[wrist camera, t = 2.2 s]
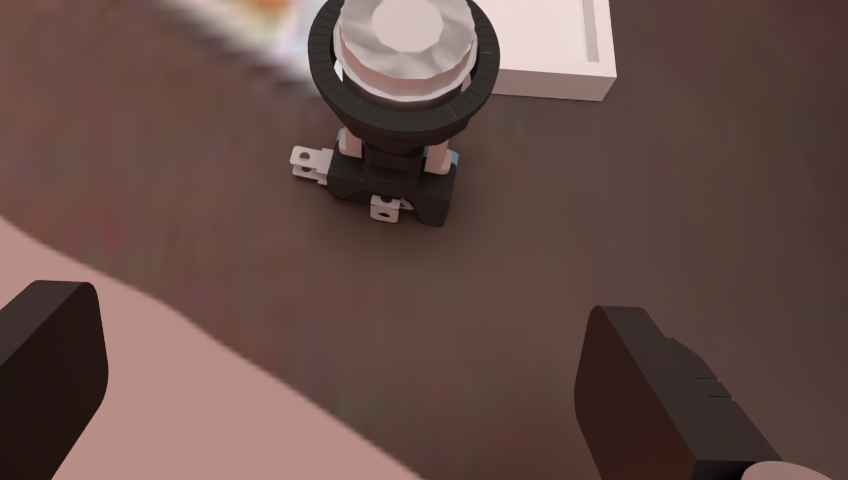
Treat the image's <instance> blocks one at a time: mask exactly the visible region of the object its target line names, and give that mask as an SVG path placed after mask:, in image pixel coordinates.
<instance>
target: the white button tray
mask: <svg viewBox="0 0 848 480" xmlns="http://www.w3.org/2000/svg"><path fill="white" fill-rule="evenodd" d="M473 1H474V2H475V3H476V4H477V5H478V6H479V7H480V8H481V9H482V10H483V12H484V13H485V14H486V16H487V17H488V19H489V20H490V22H491V23H492V26H493V28H494V30H495V32H496V35H497V38H498V42H499V47H500V67H499V72H498V76H497V79H496V82H495V85H494V88H493V90H492V92H491V94H504V95H518V96H532V97H546V98H561V99H575V100H589V101H602V100H603V99H604V97H605V95H606V94H607V92H608V90H609V89H610V87H611V86H612V84H613V82H614V81H615V79H616V78H617V75H616V66H615V57H614V48H613V39H612V30H611V21H610V12H609V3H608V0H473ZM470 83H471V78H470V73H468V75H467V76H466V77H465V79H464V81H463V85H462V89H461V91H462V92H464V91H465V90H466V88H467V87H468V86H469V85H470Z"/></svg>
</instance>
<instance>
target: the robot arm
mask: <svg viewBox="0 0 848 480" xmlns="http://www.w3.org/2000/svg"><path fill="white" fill-rule="evenodd" d="M107 383H108V361H107V354H106V348H105V341H104V334H103V328H102V321H101V315H100V308H99V302H98V296H97V292H96V290H95V288H94V286H93V285H92V284H90V283H88V282H72V281H47V280H37V281H34V282H32V283H31V284H30V285H28V286H27V287H26V288H25V289H24V290H23V291H22V292H21V293H20V294H18V295H17V296H16V297H15V298H14V299H13V300H12V301H10V302H9V303H8V304H7V305H6V306H5V307H3V308H2V309H1V310H0V480H51V479H52V478H53V476H54V474H55V473H56V471H57V470H58V468H59V467H60V465H61V464H62V462H63V461H64V459H65V458H66V456H67V455H68V453H69V452H70V450H71V449H72V447H73V446H74V444H75V443H76V441H77V440H78V438H79V437H80V435H81V434H82V432H83V431H84V429H85V428H86V426H87V425H88V423H89V422H90V420H91V419H92V417H93V416H94V414H95V413H96V411H97V410H98V408H99V406H100V405H101V403H102V401H103V398H104V395H105V392H106V388H107ZM731 397H732V396H731V395H730V394H729V392H728V391H727V390H726V389H725V387H724V386H723V385H722V384H721V383H718V382H717V377H716V376H715V375H714V374H713V372H712V371H711V370H710V368H709V367H708V366H707V365H706V363H705V362H704V361H703V360H702V358H701V357H700V356H698V355H697V354H695V353H694V352H693V351H691V350H690V349H688V348H687V347H685V346H684V345H683V344H681V343H680V342H678V341H677V340H675V339H674V338H665V337H664V335H663V334H662V333H661V331H660V330H659V328H658V327H657V326H656V324H655V323H654V322H653V320H652V319H651V318H650V316H649V315H648V314H647V312H646V311H645V310H644V309H643V308H640V307H621V306H595V307H594V308H593V309H592V311H591V313H590V316H589V320H588V324H587V329H586V334H585V338H584V343H583V348H582V353H581V357H580V362H579V367H578V372H577V376H576V381H575V388H574V404H575V412H576V416H577V420H578V423H579V425H580V428H581V430H582V432H583V435H584V437H585V440H586V442H587V445H588V447H589V449H590V452H591V454H592V457H593V459H594V462H595V464H596V466H597V469H598V471H599V474H600V476H601V479H602V480H832V479H830V478H828V477H826V476H824V475H822V474H820V473H818V472H816V471H814V470H811V469H808V468H805V467H803V466H799V465H796V464H792V463H786V462H783V460H782V459H781V458H780V457H779V455H778V454H777V453H776V452H775V450H774V449H773V448H772V447H771V445H770V444H769V443H768V442H767V440H766V439H765V438H764V436H763V435H762V434H761V433H760V431H759V430H758V429H757V428H756V426H755V425H754V424H753V423H752V421H751V420H750V419H749V418H748V416H747V415H746V414H745V413H744V411H743V410H742V409H741V408H740V406H739V405H738V404H737V402H736V401H732V399H731Z"/></svg>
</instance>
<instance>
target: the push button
mask: <svg viewBox="0 0 848 480" xmlns="http://www.w3.org/2000/svg"><path fill="white" fill-rule="evenodd" d="M308 58H309V65H310V70H311V74H312V78H313V80H314V82H315V85H316V87H317V89H318V90H319V92H320V94H321V95H322V97H323V99H324V100H325V102H326V103H327V104H328V105H329V107H330V108H331V109H332V110H333V112H334V113H335V114H336V115H337V116H338V118H339V119H340V120H341V121H342V123H343V124H344V125H345V128H341V129H340V130H339V133H338V137H337V140H336V144H335V148H334V150H331V149H326V148H323V149H322V151H319V150H314V149H309V148H304V147H299V146H296V147H294V149H293V152H292V156H291V159H290V162H291V164H293V165H294V168H293V174H294V175H296V176H301V177H306V178H311V179H316V180H318V184H323V185H327V188H328V192H329V193H331V194H332V195H333V196H335V197H337V198H341V199H346V200H351V201H355V202H360V203H365V204H370V205H371V217H372V218H374V219H377V220H382V221H387V222H392V223H394V222H397V221H398V213H399V211H404V212H409V213H414V214H418V218H419V221H420V222H421V223H423V224H426V225H431V226H436V227H440V226H443V225H444V222H445V218H446V215H447V212H448V208H449V205H450V201H451V196H452V190H453V185H454V179H455V174H456V169H457V163H458V158H459V156H458V154H457V153H456V152H454V151H451V150H449V149H447V146H448V142H449V139H450V138H452V137H453V136H455V135H456V134H458V133H459V132H461V131H462V130H464V129H465V128H466V126H467V124H468V122H469V120H470V118H471V117H472V116H474V115H475V114H476V113H477V112H478V111H479V110H480V109H481V108H482V106H483V105H484V104H485V103H486V101H487V99H488V98H489V96H490V94H491V92H492V90H493V88H494V85H495V82H496V79H497V76H498V72H499V67H500V47H499V42H498V38H497V35H496V32H495V30H494V28H493V26H492V23H491V22H490V20H489V19H488V17H487V16H486V14H485V13H484V12H483V10H482V9H481V8H480V7H479V6H478V5H477V4H476V3H475V2H474V1H473V0H328V1H327V2H326V3H325V4H324V5H323V6H322V8H321V9H320V11H319V12H318V14H317V15H316V17H315V19H314V21H313V24H312V26H311V29H310V33H309V38H308ZM337 59H338V61H339V62H340V64H341V66H342V73H343V82H342V81H341V80H340V78H339V77H338V75H337V74H336V72H335V69H334V65H335V62H336V60H337ZM468 73H470V78H471V83H470V85H469V86H468V87H467V88H466V90H465V91H464V92H463V93H462V94H460V93H461V89H462V85H463V81H464V79H465V77H466V76H467V75H468ZM303 153H307V154H309V155H310V159H305V158H300V155H301V154H303ZM302 166H303V167H308V168H312V169H311V171H310V172H304V171H302ZM379 213H386V214H388V215H390V216H389V217H385V216H382V215H380V214H379Z"/></svg>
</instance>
